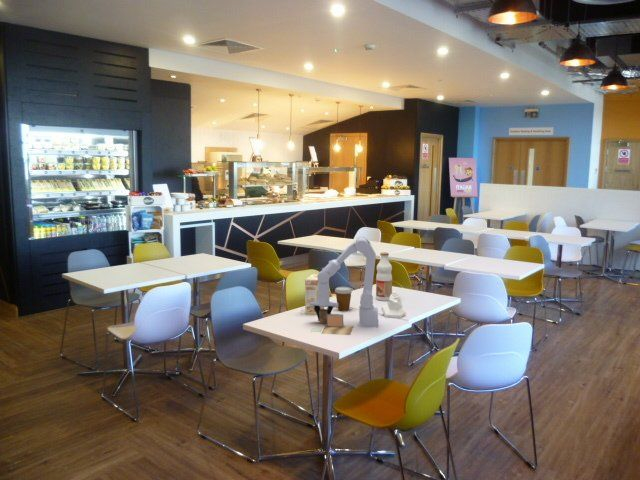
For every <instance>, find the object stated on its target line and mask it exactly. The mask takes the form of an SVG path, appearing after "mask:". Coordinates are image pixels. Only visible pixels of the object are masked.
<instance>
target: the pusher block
mask: <svg viewBox="0 0 640 480" xmlns="http://www.w3.org/2000/svg"><path fill="white" fill-rule="evenodd" d="M327 314H328V313H327V308H324V309H320V311H319V321H318V322H319V325H327Z"/></svg>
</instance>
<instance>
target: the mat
mask: <svg viewBox="0 0 640 480" xmlns="http://www.w3.org/2000/svg"><path fill="white" fill-rule="evenodd" d="M354 327H355V326H354V325H343V327H327V324H324V327H323V328H322V331H321V332H320V333H321V334H322V335H323V334H324V335H343V336H344V335H345V336H351V334H352V331H353V329H354Z"/></svg>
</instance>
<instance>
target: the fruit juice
mask: <svg viewBox="0 0 640 480" xmlns="http://www.w3.org/2000/svg"><path fill="white" fill-rule="evenodd" d="M389 255H390V254H389V252H380V255H379V257H380V260H379V262H378V263H377V265H376V271H377V273H376V275H375V276H376V277H375V288H376V289H375V298H376V300H377V301H381V302H388V301H389V298H390V295H391V294H392V293H393V274H392V270H393V266H392V264H391V262H390V261H389Z"/></svg>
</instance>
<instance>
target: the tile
mask: <svg viewBox="0 0 640 480" xmlns="http://www.w3.org/2000/svg"><path fill="white" fill-rule="evenodd" d="M326 325H327V327H343V326H344V314H342V313H341V314H338V313H331V314H327V324H326Z"/></svg>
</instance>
